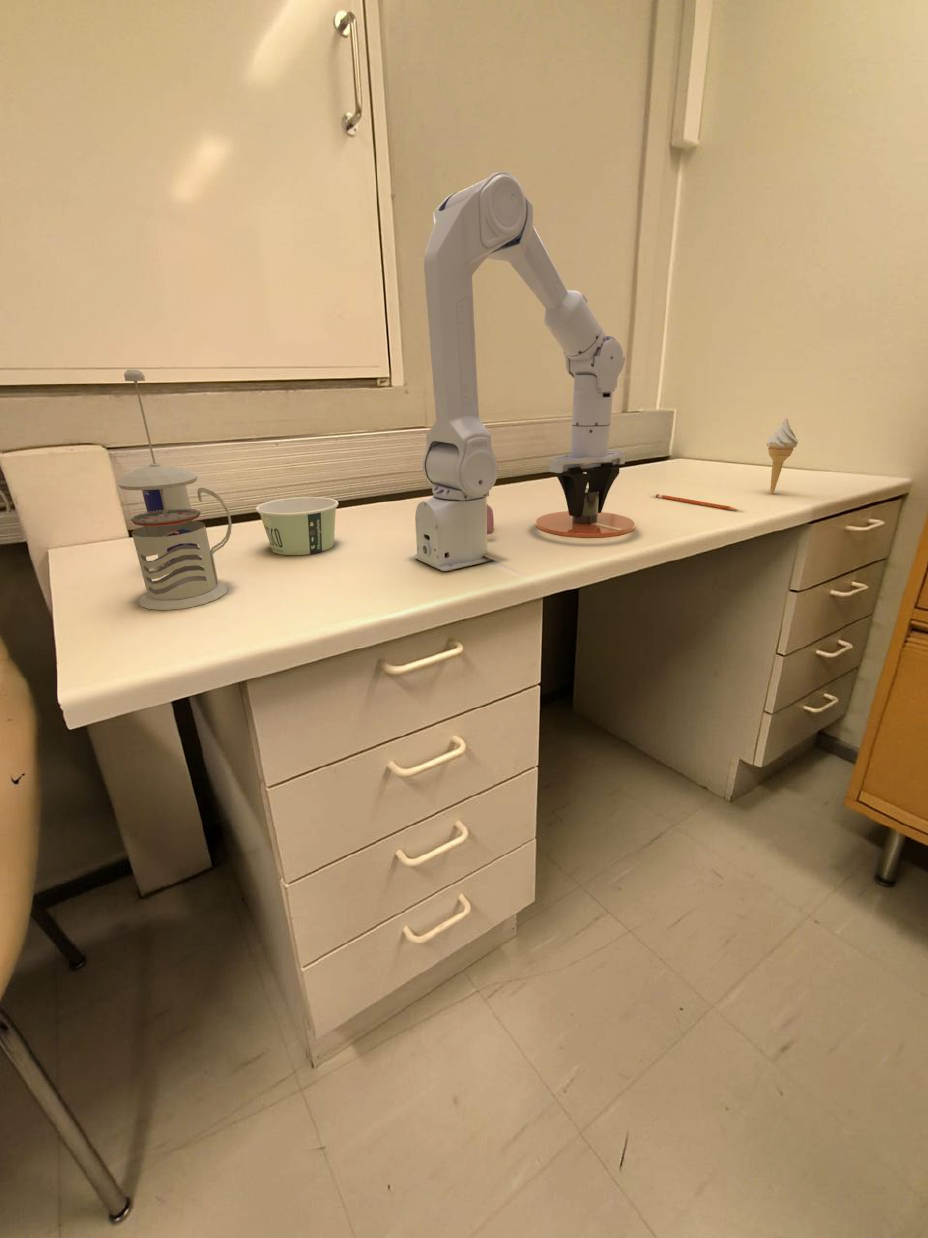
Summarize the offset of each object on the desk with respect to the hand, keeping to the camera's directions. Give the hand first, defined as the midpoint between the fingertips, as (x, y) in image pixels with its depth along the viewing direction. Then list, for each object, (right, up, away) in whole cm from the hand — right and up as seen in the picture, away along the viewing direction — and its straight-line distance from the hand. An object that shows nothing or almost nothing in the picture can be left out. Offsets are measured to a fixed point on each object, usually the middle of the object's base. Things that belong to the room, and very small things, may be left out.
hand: (585, 514), depth 91 cm
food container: (-44, -6, -4) cm, 45 cm away
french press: (-53, -14, -22) cm, 59 cm away
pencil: (+25, +5, +19) cm, 32 cm away
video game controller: (-20, -4, 0) cm, 20 cm away
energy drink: (-59, -9, -11) cm, 61 cm away
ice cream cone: (+44, +9, +26) cm, 52 cm away
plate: (0, -2, +1) cm, 2 cm away
